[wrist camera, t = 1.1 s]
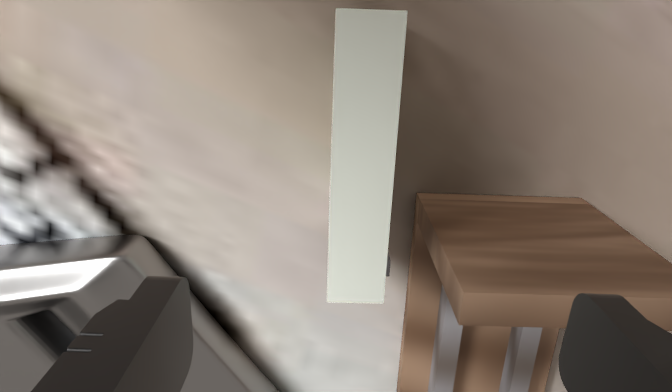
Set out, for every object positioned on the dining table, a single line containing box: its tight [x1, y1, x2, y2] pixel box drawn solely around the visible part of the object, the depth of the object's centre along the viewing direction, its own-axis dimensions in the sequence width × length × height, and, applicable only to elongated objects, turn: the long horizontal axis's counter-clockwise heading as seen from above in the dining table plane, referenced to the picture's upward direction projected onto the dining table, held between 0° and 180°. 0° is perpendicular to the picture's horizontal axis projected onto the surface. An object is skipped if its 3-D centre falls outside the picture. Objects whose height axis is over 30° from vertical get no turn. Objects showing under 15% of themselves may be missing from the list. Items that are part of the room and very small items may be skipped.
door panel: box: [327, 8, 408, 304], centre depth 23 cm, size 12×3×9 cm, turn 178°
